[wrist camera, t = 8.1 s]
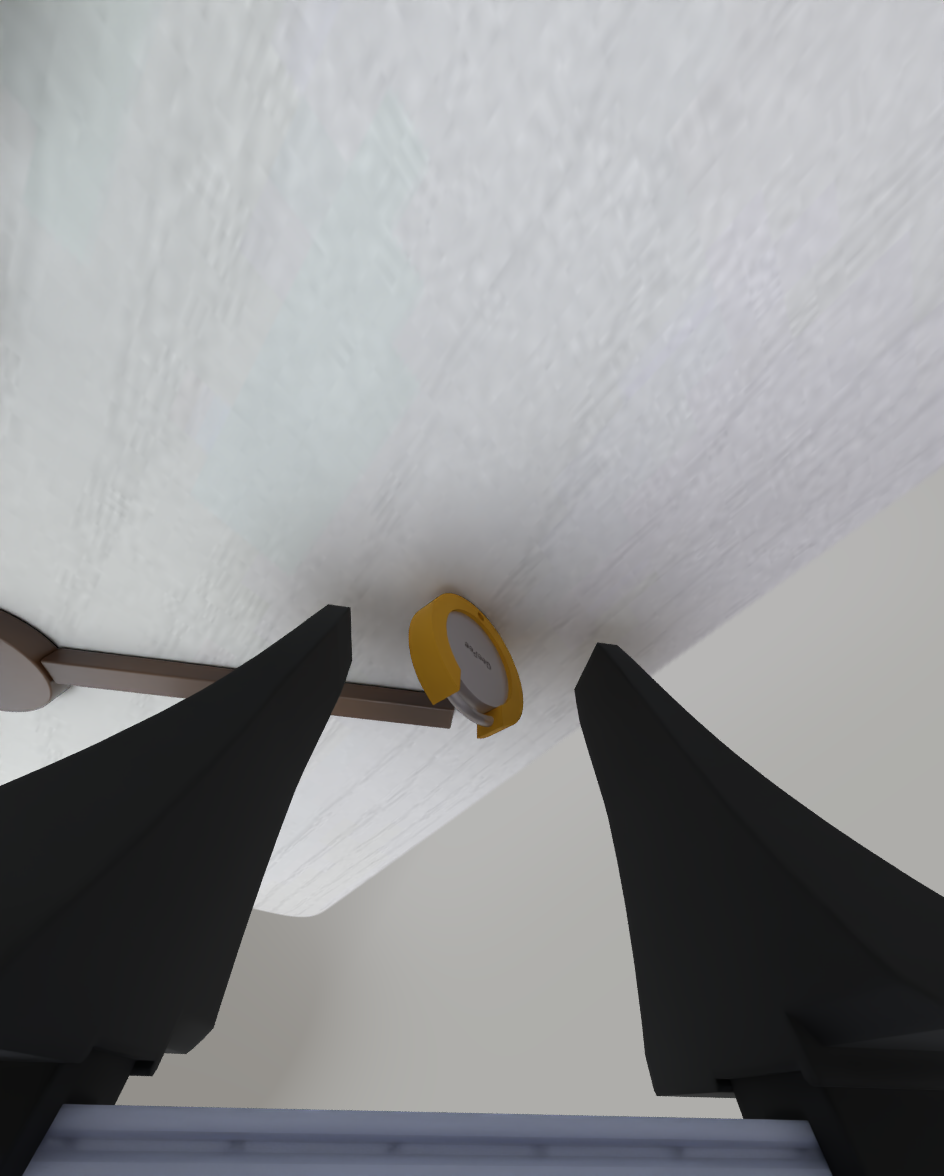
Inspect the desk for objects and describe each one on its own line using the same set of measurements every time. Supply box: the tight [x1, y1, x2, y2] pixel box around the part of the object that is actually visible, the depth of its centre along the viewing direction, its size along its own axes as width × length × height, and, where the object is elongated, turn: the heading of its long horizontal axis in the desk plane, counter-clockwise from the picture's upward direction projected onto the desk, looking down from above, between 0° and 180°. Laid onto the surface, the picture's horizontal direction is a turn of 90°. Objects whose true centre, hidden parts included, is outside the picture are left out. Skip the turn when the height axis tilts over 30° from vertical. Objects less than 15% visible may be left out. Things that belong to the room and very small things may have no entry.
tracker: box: [409, 593, 523, 739], centre depth 10 cm, size 4×1×4 cm, turn 39°
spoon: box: [0, 610, 454, 729], centre depth 12 cm, size 20×5×1 cm, turn 80°
